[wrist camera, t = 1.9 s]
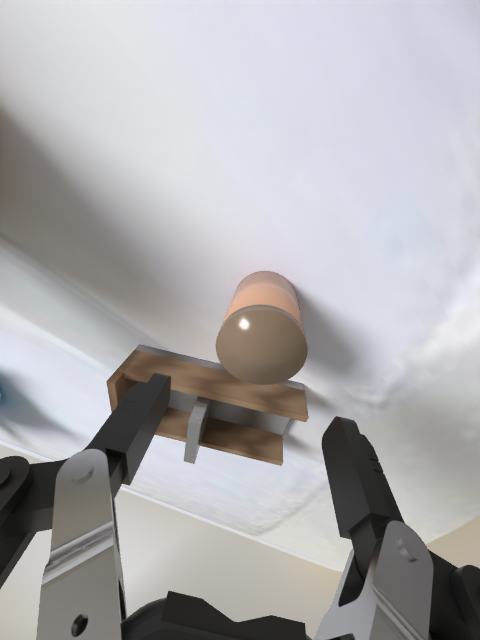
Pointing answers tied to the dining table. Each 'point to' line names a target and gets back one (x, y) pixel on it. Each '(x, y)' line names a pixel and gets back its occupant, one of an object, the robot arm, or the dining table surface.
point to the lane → (216, 403)
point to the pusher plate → (196, 428)
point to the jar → (263, 331)
